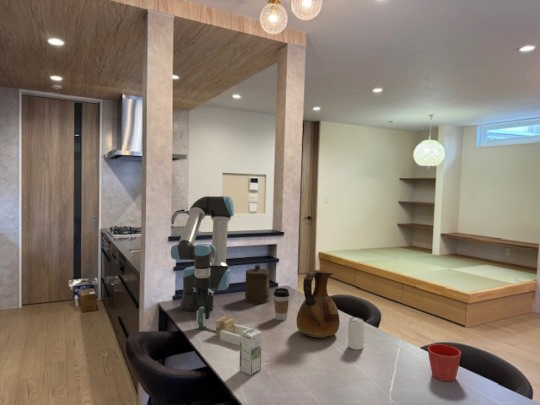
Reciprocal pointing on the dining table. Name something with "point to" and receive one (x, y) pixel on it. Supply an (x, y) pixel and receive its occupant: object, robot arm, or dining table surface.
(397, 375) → the dining table surface
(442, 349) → the flower pot
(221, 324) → the corded oak block
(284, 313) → the coffee cup
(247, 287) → the wooden container
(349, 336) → the can
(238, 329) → the rail lane
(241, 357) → the syrup box
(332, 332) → the ceramic pitcher
